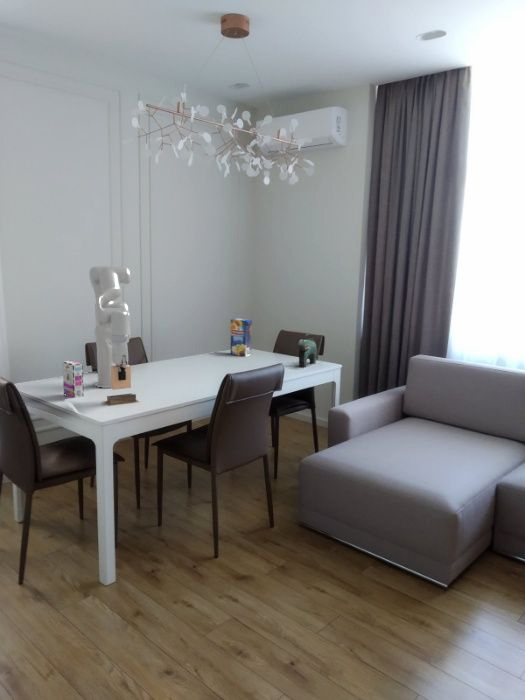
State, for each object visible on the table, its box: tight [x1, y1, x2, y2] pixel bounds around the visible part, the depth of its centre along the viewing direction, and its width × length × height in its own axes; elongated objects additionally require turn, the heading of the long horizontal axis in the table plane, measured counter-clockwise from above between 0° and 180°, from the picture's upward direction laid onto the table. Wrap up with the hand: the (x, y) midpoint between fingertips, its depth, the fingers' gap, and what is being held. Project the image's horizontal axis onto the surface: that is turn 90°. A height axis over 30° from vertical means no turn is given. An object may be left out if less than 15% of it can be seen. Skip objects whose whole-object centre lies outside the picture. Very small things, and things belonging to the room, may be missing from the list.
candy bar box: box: [62, 359, 84, 399], centre depth 254 cm, size 11×5×16 cm, turn 45°
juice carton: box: [230, 318, 253, 357], centre depth 368 cm, size 12×8×24 cm, turn 60°
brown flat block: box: [103, 393, 140, 407], centre depth 245 cm, size 8×14×4 cm, turn 121°
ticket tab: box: [110, 364, 132, 391], centre depth 243 cm, size 3×8×10 cm, turn 121°
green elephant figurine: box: [297, 333, 318, 369], centre depth 339 cm, size 20×6×20 cm, turn 148°
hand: (120, 378), depth 243 cm, fingers closed on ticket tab, 3 cm apart
